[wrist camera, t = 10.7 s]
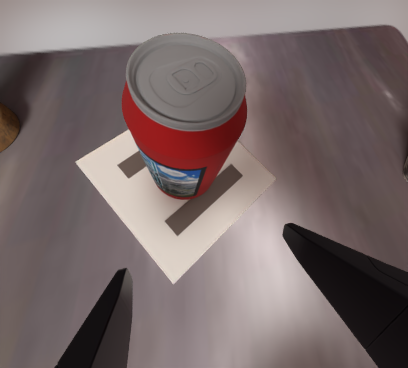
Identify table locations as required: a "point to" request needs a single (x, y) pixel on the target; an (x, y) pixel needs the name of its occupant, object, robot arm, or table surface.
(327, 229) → the table surface
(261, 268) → the table surface
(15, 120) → the brown knobbed pedestal
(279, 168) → the table surface
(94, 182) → the letter mat
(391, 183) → the table surface
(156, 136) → the beverage can
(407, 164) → the lighter
